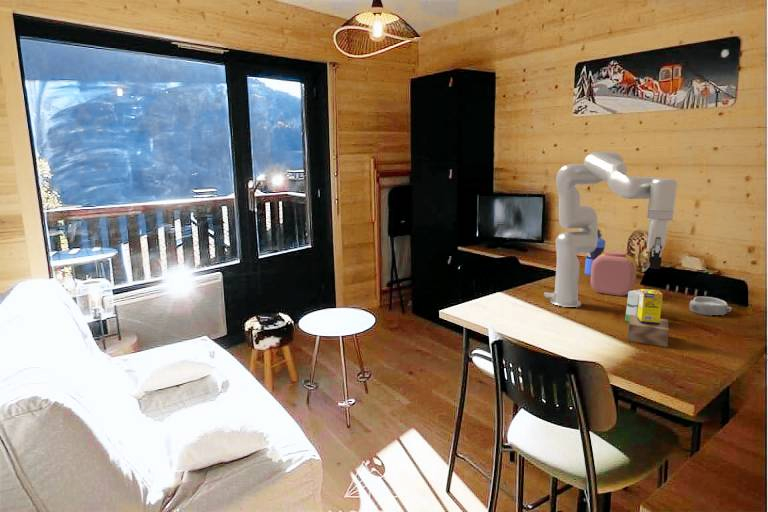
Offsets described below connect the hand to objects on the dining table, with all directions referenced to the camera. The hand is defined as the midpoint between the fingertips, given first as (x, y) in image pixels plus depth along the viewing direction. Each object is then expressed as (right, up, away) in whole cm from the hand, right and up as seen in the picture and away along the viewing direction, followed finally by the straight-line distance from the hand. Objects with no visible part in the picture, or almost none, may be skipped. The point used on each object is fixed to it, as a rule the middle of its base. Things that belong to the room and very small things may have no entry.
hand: (654, 265), depth 166 cm
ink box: (+7, -22, +24) cm, 33 cm away
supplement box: (0, -20, +4) cm, 20 cm away
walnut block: (0, -26, +5) cm, 26 cm away
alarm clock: (+16, -14, +64) cm, 68 cm away
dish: (+42, -20, +36) cm, 59 cm away
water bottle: (+23, -7, +102) cm, 105 cm away
